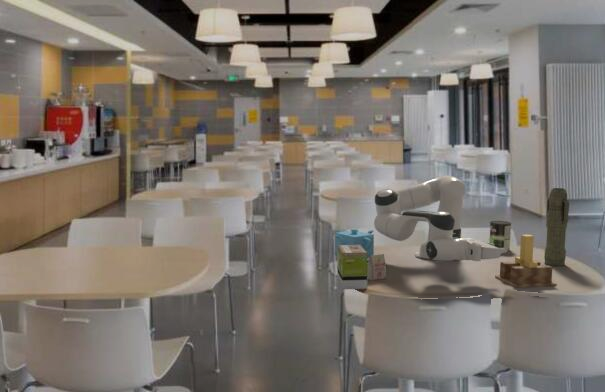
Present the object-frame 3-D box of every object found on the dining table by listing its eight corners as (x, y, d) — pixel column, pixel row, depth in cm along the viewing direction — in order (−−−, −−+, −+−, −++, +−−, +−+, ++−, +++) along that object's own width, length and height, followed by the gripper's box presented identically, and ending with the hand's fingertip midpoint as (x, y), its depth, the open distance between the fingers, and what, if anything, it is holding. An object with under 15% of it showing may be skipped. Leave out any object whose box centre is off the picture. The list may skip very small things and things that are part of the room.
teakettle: (373, 265, 276) (373, 233, 274) (331, 263, 278) (332, 231, 276) (373, 256, 294) (374, 226, 293) (335, 254, 297) (335, 225, 295)
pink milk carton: (366, 278, 251) (367, 254, 250) (380, 276, 255) (381, 253, 253) (371, 280, 248) (372, 256, 247) (385, 278, 251) (386, 254, 250)
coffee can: (494, 251, 307) (495, 224, 306) (485, 247, 317) (486, 220, 316) (513, 251, 308) (514, 223, 307) (504, 247, 319) (505, 220, 317)
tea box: (336, 280, 249) (337, 244, 247) (360, 279, 249) (361, 244, 248) (342, 289, 234) (342, 252, 232) (367, 289, 235) (368, 251, 233)
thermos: (558, 268, 272) (563, 190, 268) (537, 262, 282) (541, 187, 278) (572, 266, 276) (576, 189, 272) (550, 260, 286) (554, 186, 282)
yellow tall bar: (528, 280, 242) (530, 238, 240) (514, 273, 253) (516, 233, 251) (536, 279, 243) (538, 237, 241) (522, 273, 253) (524, 233, 251)
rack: (515, 287, 239) (515, 269, 238) (495, 277, 254) (495, 261, 253) (556, 285, 242) (557, 268, 241) (534, 275, 257) (535, 259, 257)
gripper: (456, 251, 252) (487, 250, 255) (479, 262, 232) (512, 261, 235) (456, 236, 252) (487, 235, 254) (479, 246, 232) (513, 244, 234)
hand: (499, 247), depth 244 cm, fingers open, 8 cm apart
